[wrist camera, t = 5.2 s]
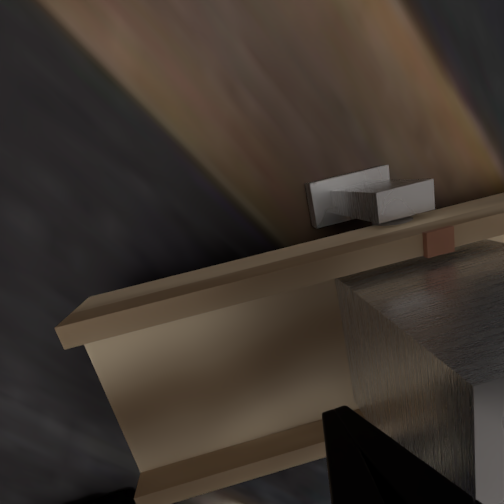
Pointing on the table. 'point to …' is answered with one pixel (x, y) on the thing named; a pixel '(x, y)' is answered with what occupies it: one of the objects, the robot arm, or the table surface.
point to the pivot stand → (367, 197)
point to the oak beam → (245, 351)
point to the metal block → (434, 359)
